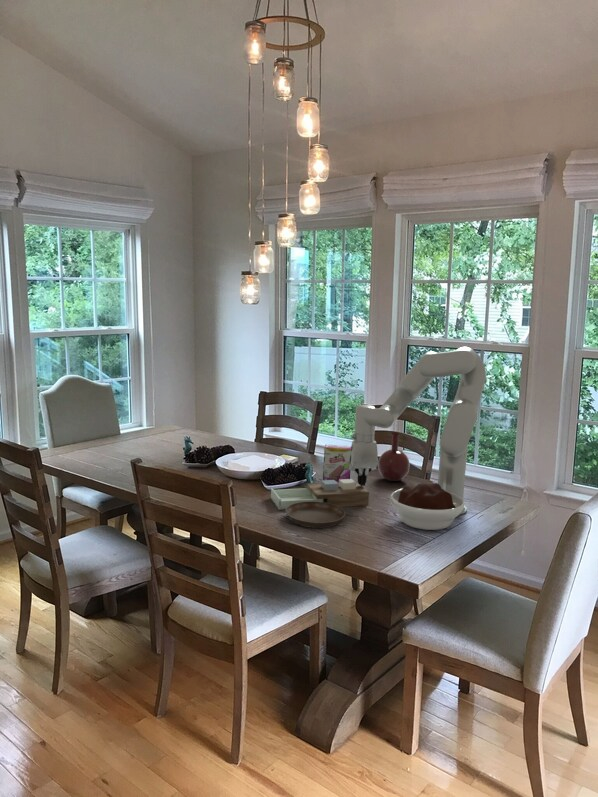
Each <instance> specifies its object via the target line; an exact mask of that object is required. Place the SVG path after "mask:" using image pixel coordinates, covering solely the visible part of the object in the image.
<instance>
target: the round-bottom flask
mask: <svg viewBox="0 0 598 797" xmlns="http://www.w3.org/2000/svg"><path fill="white" fill-rule="evenodd" d="M399 436H400V433H397V432H394V433H392V432H391V448H390V449H389V450H385V451H384V452H383V453H382V454H381V455H380V457H379V458H378V464H377V468H378V469H377V470H378V472H379V474H380V475H381V477H383V478H384V479H385V480H388V481H391V482H398V481H401V480H403V479H404V478H405V477H407V475H408V474H409V471H410V466H411V465H410V463H411V462H410V460H409V457H408V456H407V455H406V453H404V452H403V451H401V450H400V449H399V438H400V437H399Z"/></svg>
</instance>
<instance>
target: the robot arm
mask: <svg viewBox="0 0 598 797" xmlns="http://www.w3.org/2000/svg"><path fill="white" fill-rule="evenodd" d="M486 374H487V372H486V366H485V364H484V361H483V359H482V358H481V356H480V355H479V354H478V352H477V351H476V350H474V349H473V348H471V347H468V346H462V347H458V348H457V349H456V350H451V351H450V350H449V351H444V352H436V351H427V352H425V353H424V354H423V355H422V356H421V357H420V358H419V359H418V360H417V362H416V363H414V365H413V366H412V367H411V368H410V370H409V371H408V372H407V373H406V375H404V377H403V378H402V379H401V380H400V382H399V383H398V385H397V387H396V389H395V390H393V392H392V393H391V395H390V396H389V397H388V399H386V400H385V402H384V403H383V404H382V405H381V406H380V407H379V408H377V407H375V406H374V405H370V404H359V405H357V406H356V408H355V417H354V419H355V420H354V433H353V434H351V435H350V439H352V441H351V445H350V446H351V450H350V457H349V464H350V466H349V469H350V470H351V472H352V471H353V472H355V473H356V474H357V483H359V485H361V486H362V487H364V486H365V487H366V483H367V481H368V480H367V477H368V476H369V473H370V472H371V471H374V470H376V469H377V468H378V461H379V458H378V457H379V455H378V454H379V453H378V444H377V441H376V440H375V434H376V432H375V431H376V427H377V428H382V429H388V428H390V427H392V426H393V425H394V423H395V422H396V421H397V420H398V418H399V417H400V416H401V415H402V414H403V412H404V411H405V410H406V409H407V407H409V405H410V404H411V403H412V402H414V400H416V399H418V398H419V397H420V396H421V394H422V393H423V392H424V391H425V389H426V388H427V387H428V386H429V385H430V384H431V383H432V382H433V381H434V379H435V378H442V377H443V378H444V377H451V376H460V380H459V383H458V387H457V390H456V393H455V397H454V399H453V402H452V403H451V405H450V408H449V409H448V410H449V411H448V415H447V416H446V421H445V423H444V426H443V429H442V431H441V432H442V433H441V435H440V438H439V447H440V451H439V461H438V462H439V463H438V474H437V483H438V484H439V485H440V486H441V488H442V489H443V490H445V491H447V492H451V493H453V494H456V495H458V496H459V497H461V498H462V499H463V500H464V495H465V494H464V493H465V481H466V470H467V469H466V468H467V455H468V447H469V442H470V439H471V436H472V434H473V430H474V427H475V424H476V421H477V417H478V406H479V404H480V400H481V398H482V394H483V390H484V387H485V383H486V377H487V376H486ZM467 510H468V509H467V506H466V505H465V504H464V509H463V510H462V512H461V513H460V514H459V515H462V514H466V513H467Z"/></svg>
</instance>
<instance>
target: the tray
mask: <svg viewBox="0 0 598 797" xmlns="http://www.w3.org/2000/svg"><path fill="white" fill-rule="evenodd" d="M270 500H271V501H272V502H273V503H275V504H274V505H275V506H276V508H277V507H278V508H277V509H278V510H279V511H283V510H284V509H285V510H284V511H286V508H287V507H288V506H290V505H292V504H295V503H299V502H323V501H324V499H317V498H316V497H315V496H314V495H313V494H312V493H311V492H310V491H309V490H308V489H307V487H304V488H303V487H302V488H287V489H286V488H285V489H284V488H283V489H274V488H273V487H271V488H270Z"/></svg>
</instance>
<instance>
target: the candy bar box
mask: <svg viewBox="0 0 598 797" xmlns="http://www.w3.org/2000/svg"><path fill="white" fill-rule="evenodd" d="M323 450H324V452H323V468H322V469H323V471H322V480H335V481H336V482H339V480H341V479H351V476H352V474H351V472H352V471H351V470H350V469H349V466H350V464H349V457H350V450H351V445H341V444H340V445H339V444H325V445H324V449H323Z"/></svg>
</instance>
